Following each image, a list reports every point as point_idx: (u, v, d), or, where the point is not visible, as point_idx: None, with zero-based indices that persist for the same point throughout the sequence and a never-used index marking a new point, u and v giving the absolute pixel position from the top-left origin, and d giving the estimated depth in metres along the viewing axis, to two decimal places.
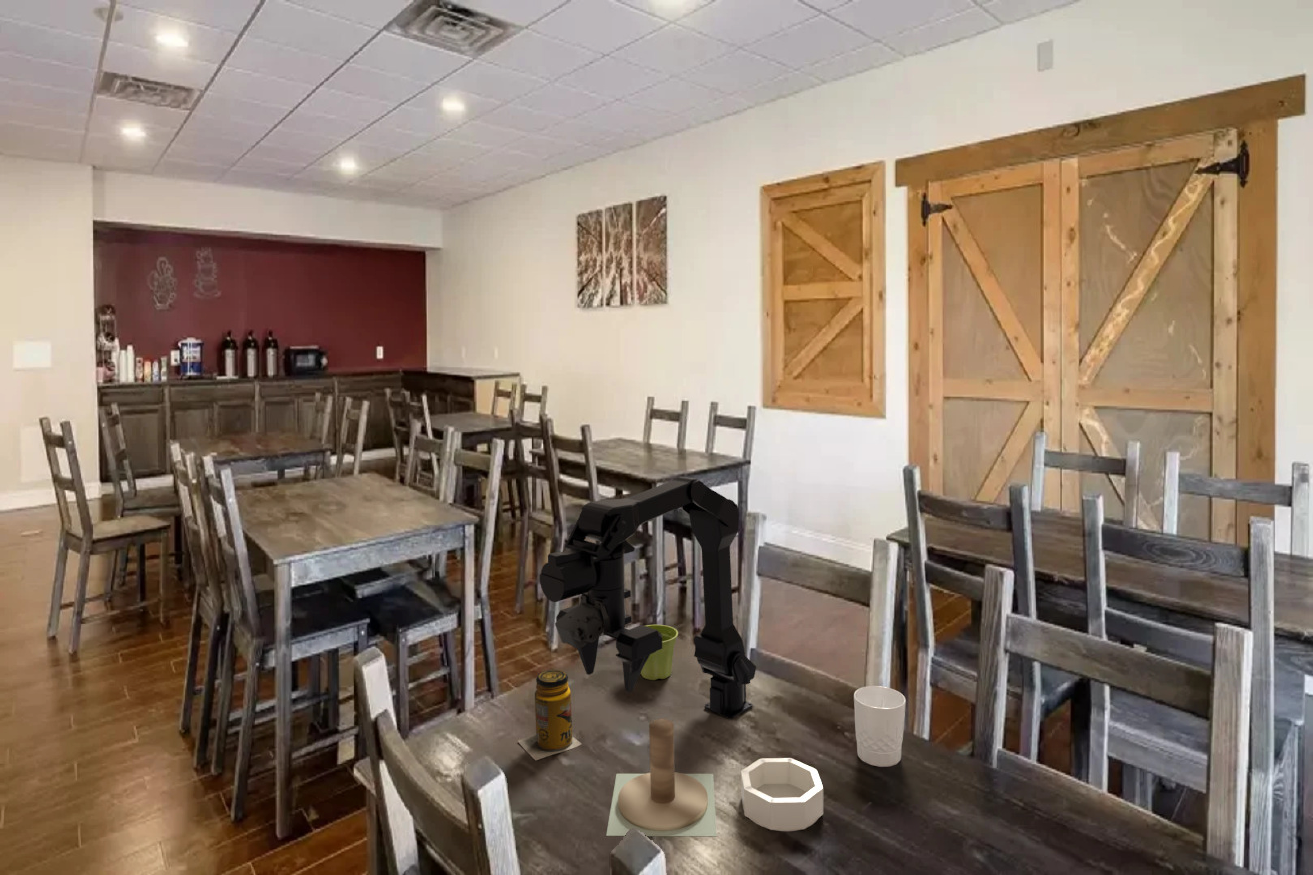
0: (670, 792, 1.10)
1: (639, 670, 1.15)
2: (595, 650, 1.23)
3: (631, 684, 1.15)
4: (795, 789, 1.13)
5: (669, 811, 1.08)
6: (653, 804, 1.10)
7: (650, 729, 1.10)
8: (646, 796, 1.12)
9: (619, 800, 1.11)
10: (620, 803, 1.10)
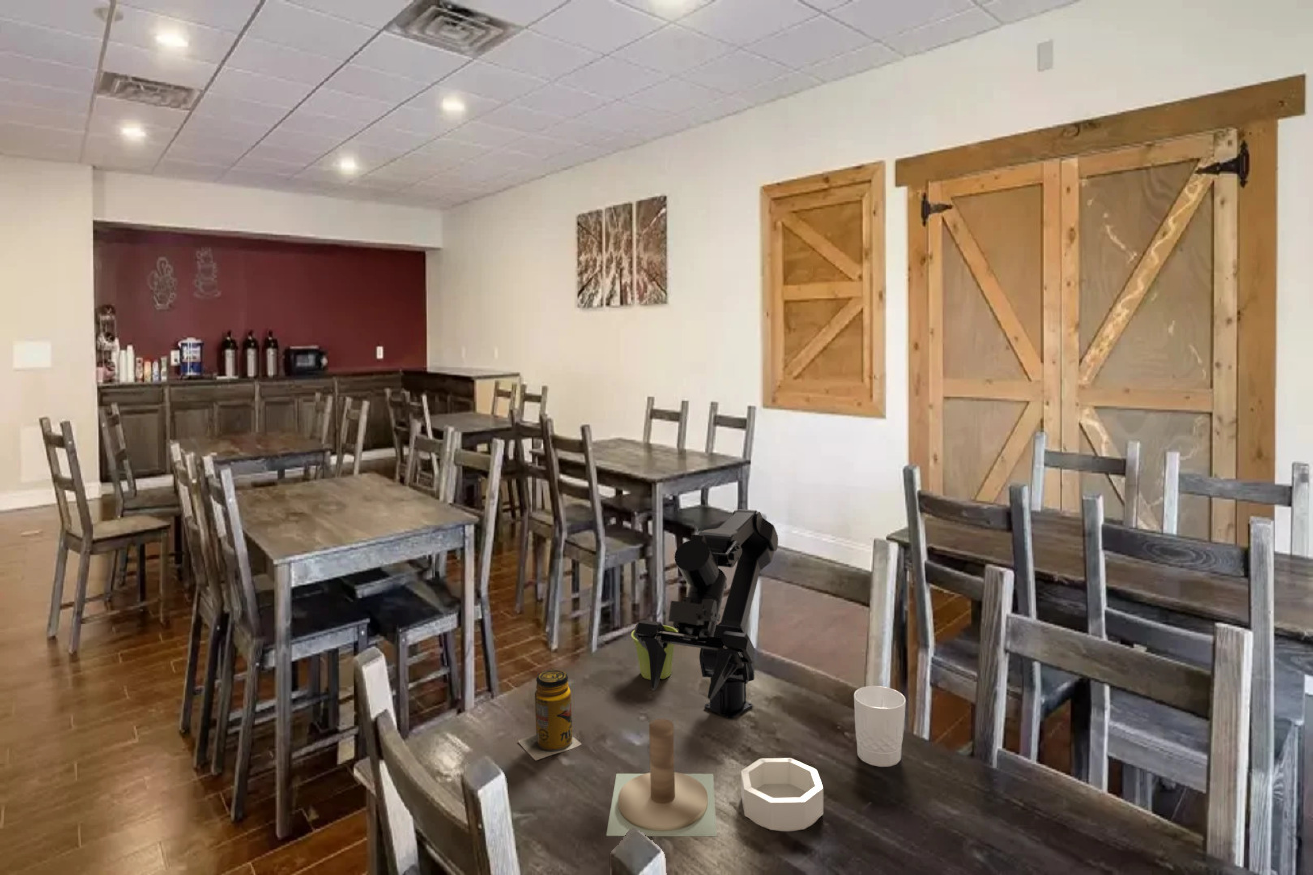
0: (670, 792, 1.10)
1: (723, 681, 1.18)
2: (661, 671, 1.22)
3: (715, 690, 1.16)
4: (795, 789, 1.13)
5: (669, 811, 1.08)
6: (653, 804, 1.10)
7: (650, 729, 1.10)
8: (646, 796, 1.12)
9: (619, 800, 1.11)
10: (620, 803, 1.10)
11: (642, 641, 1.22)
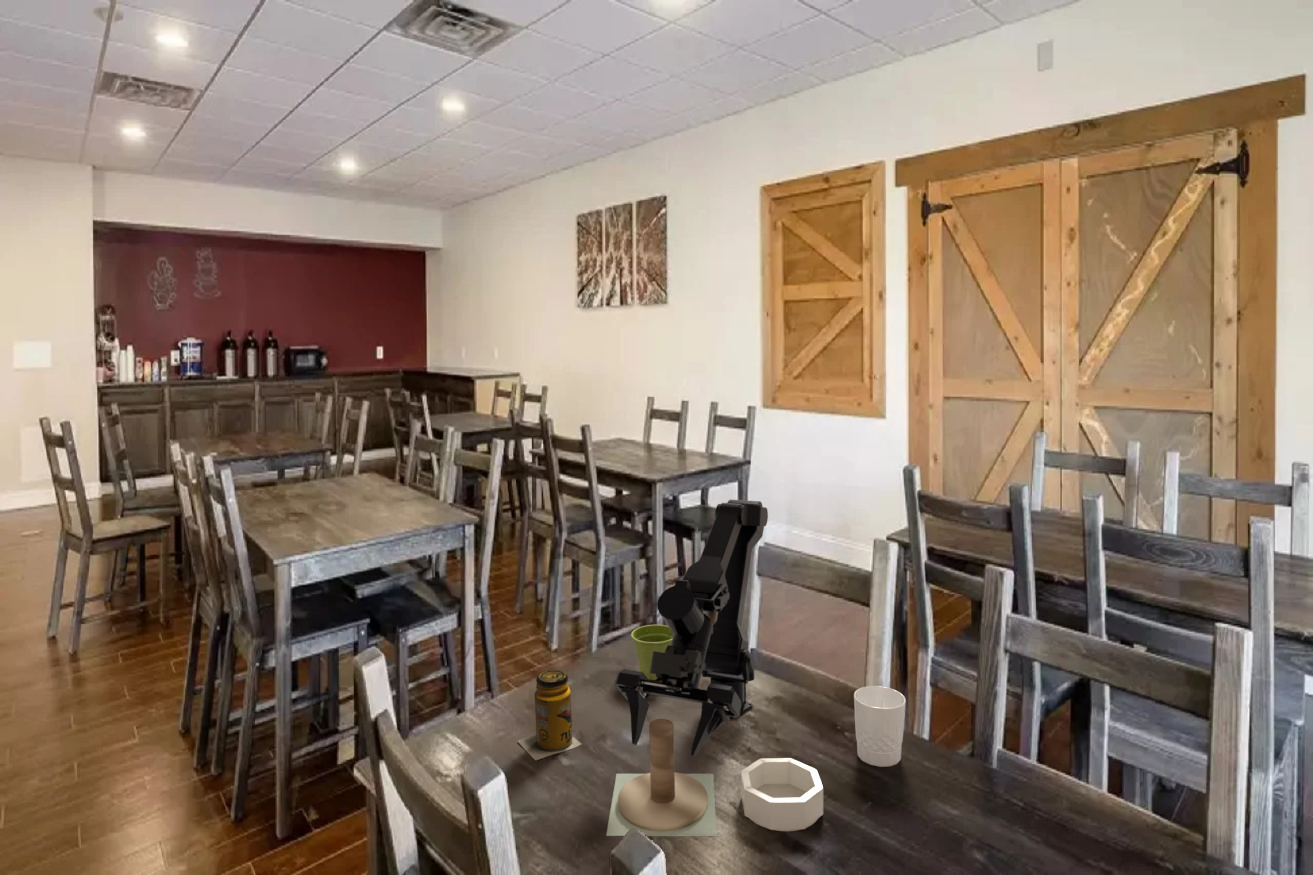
0: (670, 792, 1.10)
1: (707, 737, 1.12)
2: (642, 724, 1.16)
3: (698, 747, 1.10)
4: (795, 789, 1.13)
5: (669, 811, 1.08)
6: (653, 804, 1.10)
7: (650, 729, 1.10)
8: (646, 796, 1.12)
9: (619, 800, 1.11)
10: (620, 803, 1.10)
11: (623, 693, 1.16)
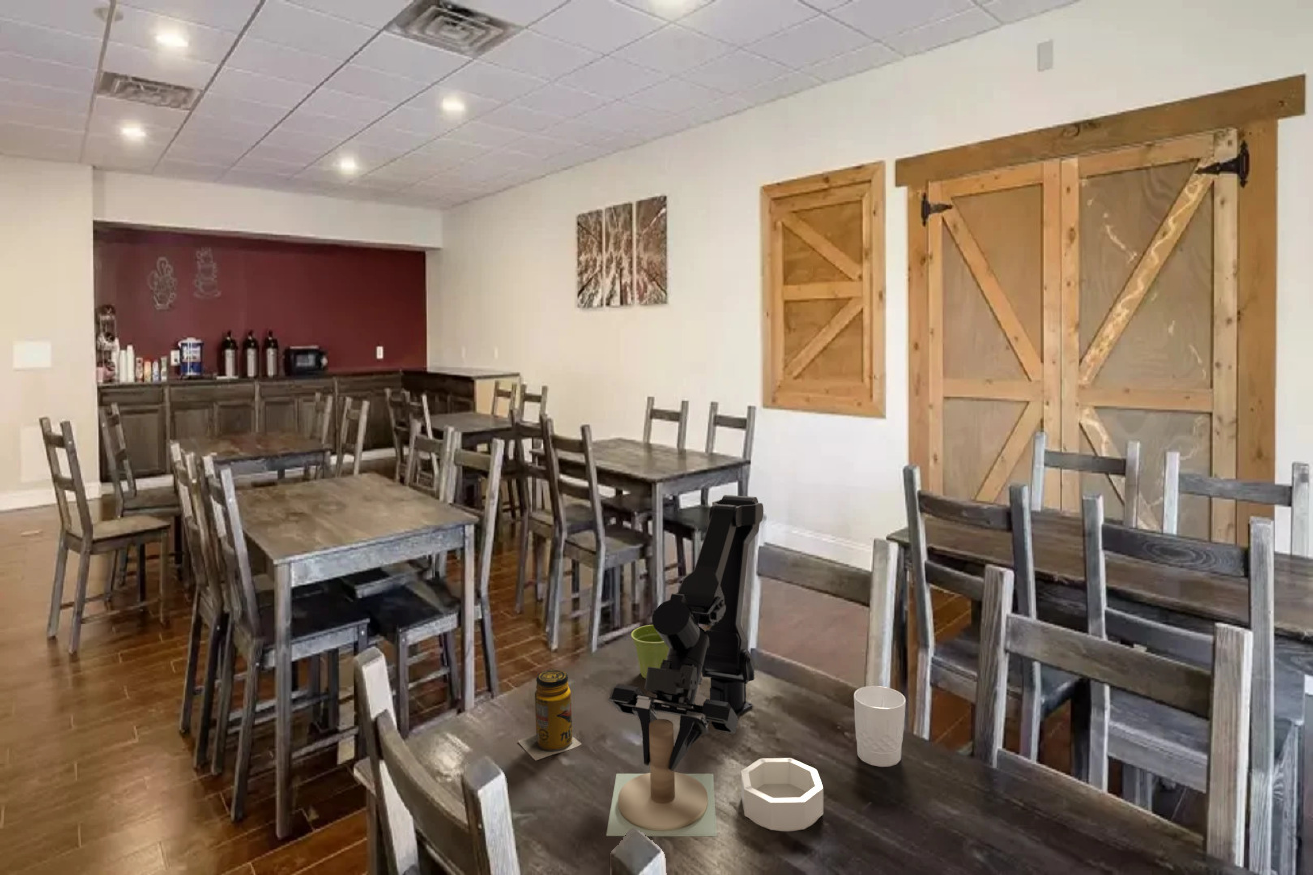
0: (670, 792, 1.10)
1: (686, 750, 1.11)
2: None
3: (676, 761, 1.10)
4: (795, 789, 1.13)
5: (669, 811, 1.08)
6: (653, 804, 1.10)
7: (650, 729, 1.10)
8: (646, 796, 1.12)
9: (619, 800, 1.11)
10: (620, 803, 1.10)
11: (634, 711, 1.14)
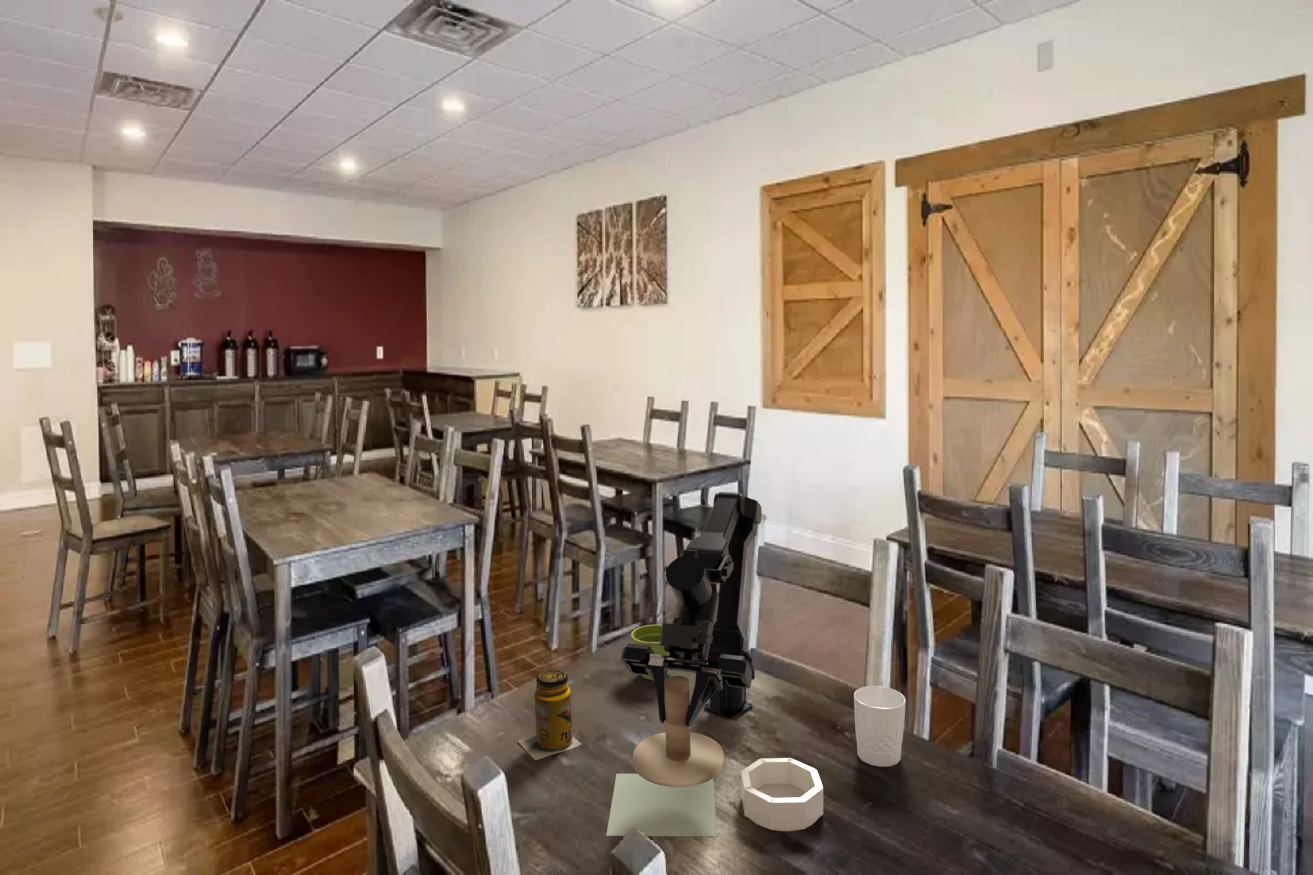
0: (686, 749, 1.09)
1: (701, 706, 1.10)
2: None
3: (693, 717, 1.08)
4: (795, 789, 1.13)
5: (687, 767, 1.07)
6: (670, 761, 1.08)
7: (666, 685, 1.08)
8: (661, 754, 1.10)
9: (634, 759, 1.09)
10: (636, 762, 1.08)
11: (647, 669, 1.12)
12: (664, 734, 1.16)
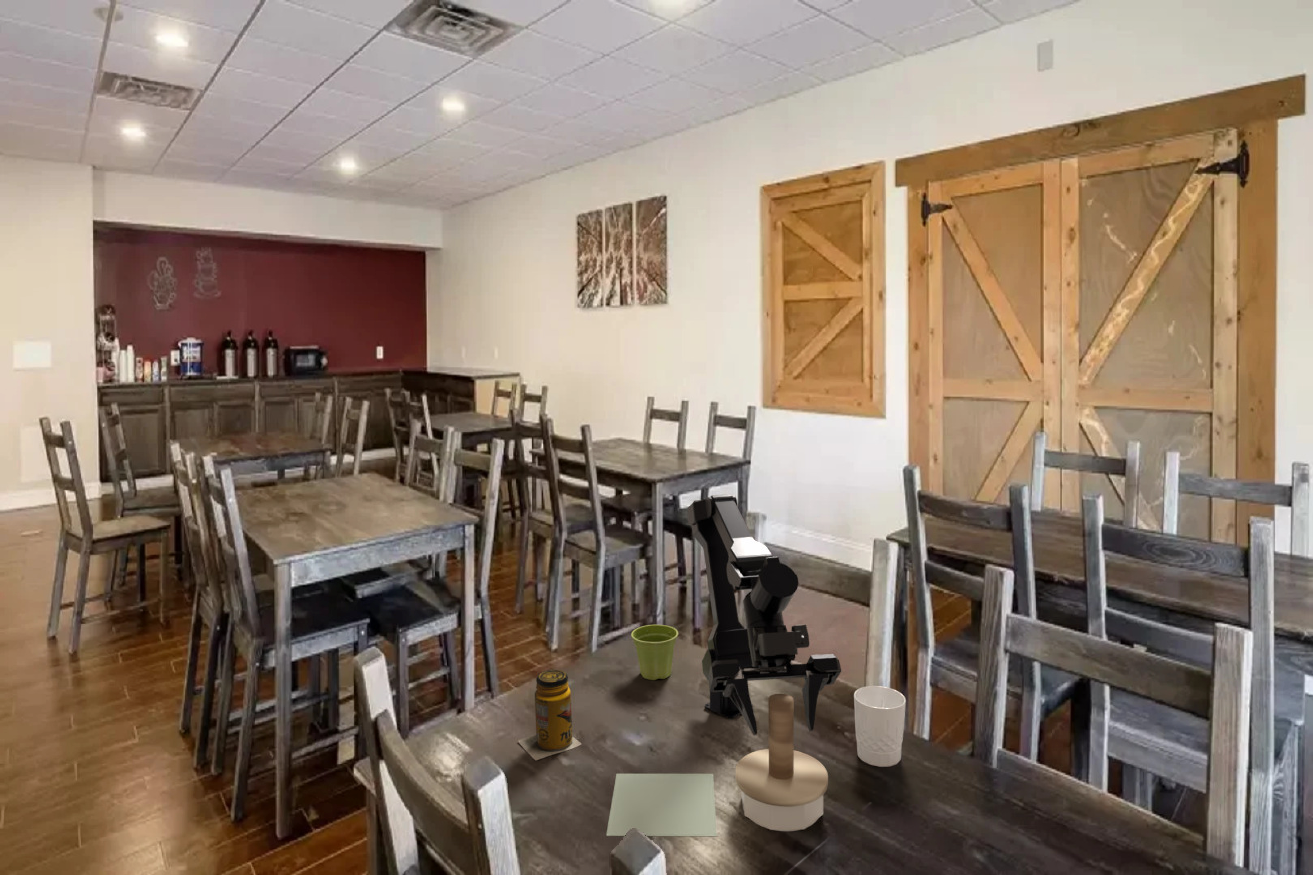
0: (793, 766, 1.09)
1: None
2: None
3: None
4: None
5: (802, 783, 1.07)
6: (781, 781, 1.07)
7: (775, 705, 1.07)
8: (767, 776, 1.09)
9: (747, 787, 1.06)
10: (751, 790, 1.06)
11: (729, 684, 1.09)
12: (749, 756, 1.14)
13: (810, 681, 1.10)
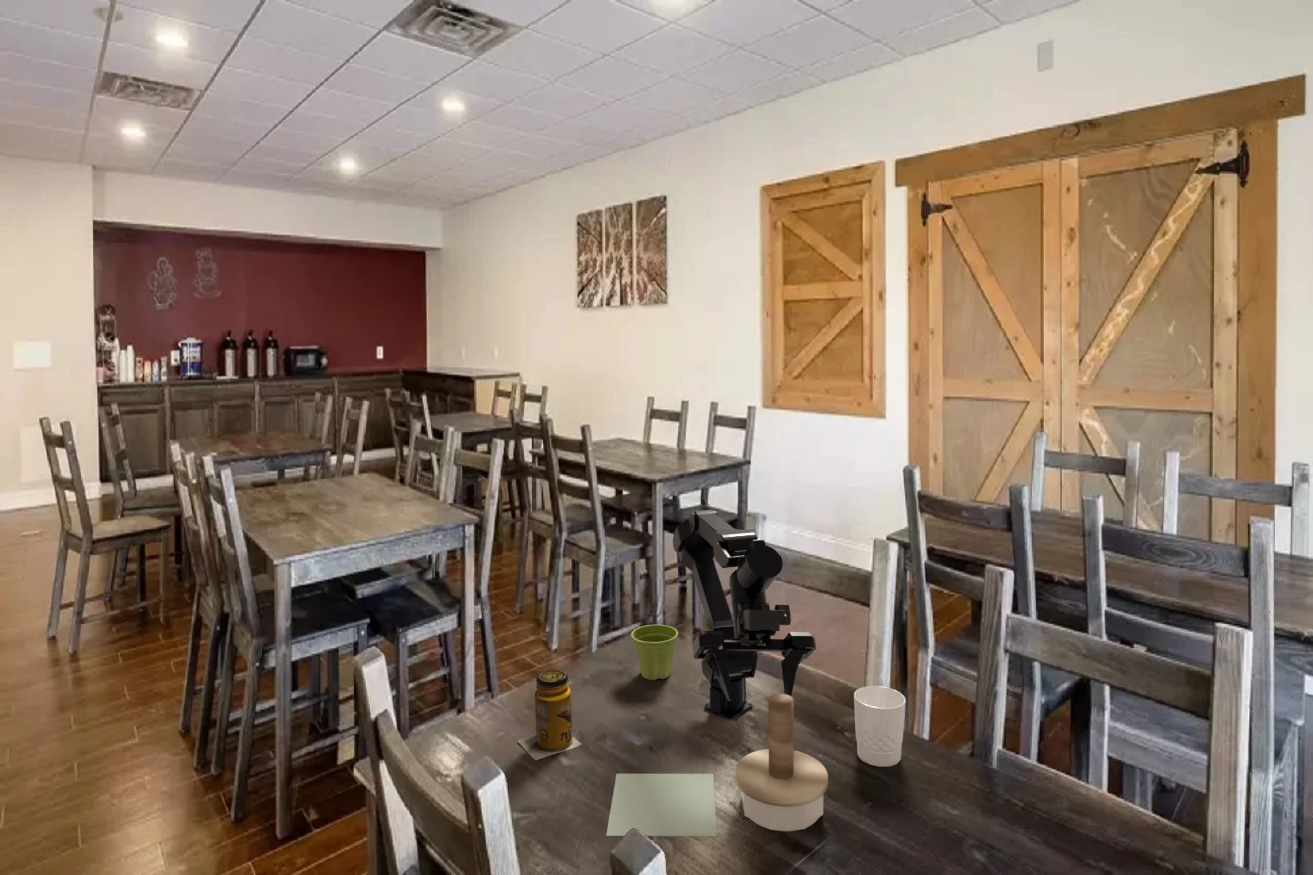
0: (793, 766, 1.09)
1: None
2: None
3: None
4: None
5: (802, 783, 1.07)
6: (781, 781, 1.07)
7: (775, 705, 1.07)
8: (767, 776, 1.09)
9: (747, 787, 1.06)
10: (751, 790, 1.06)
11: (710, 653, 1.18)
12: (749, 756, 1.14)
13: (791, 656, 1.20)
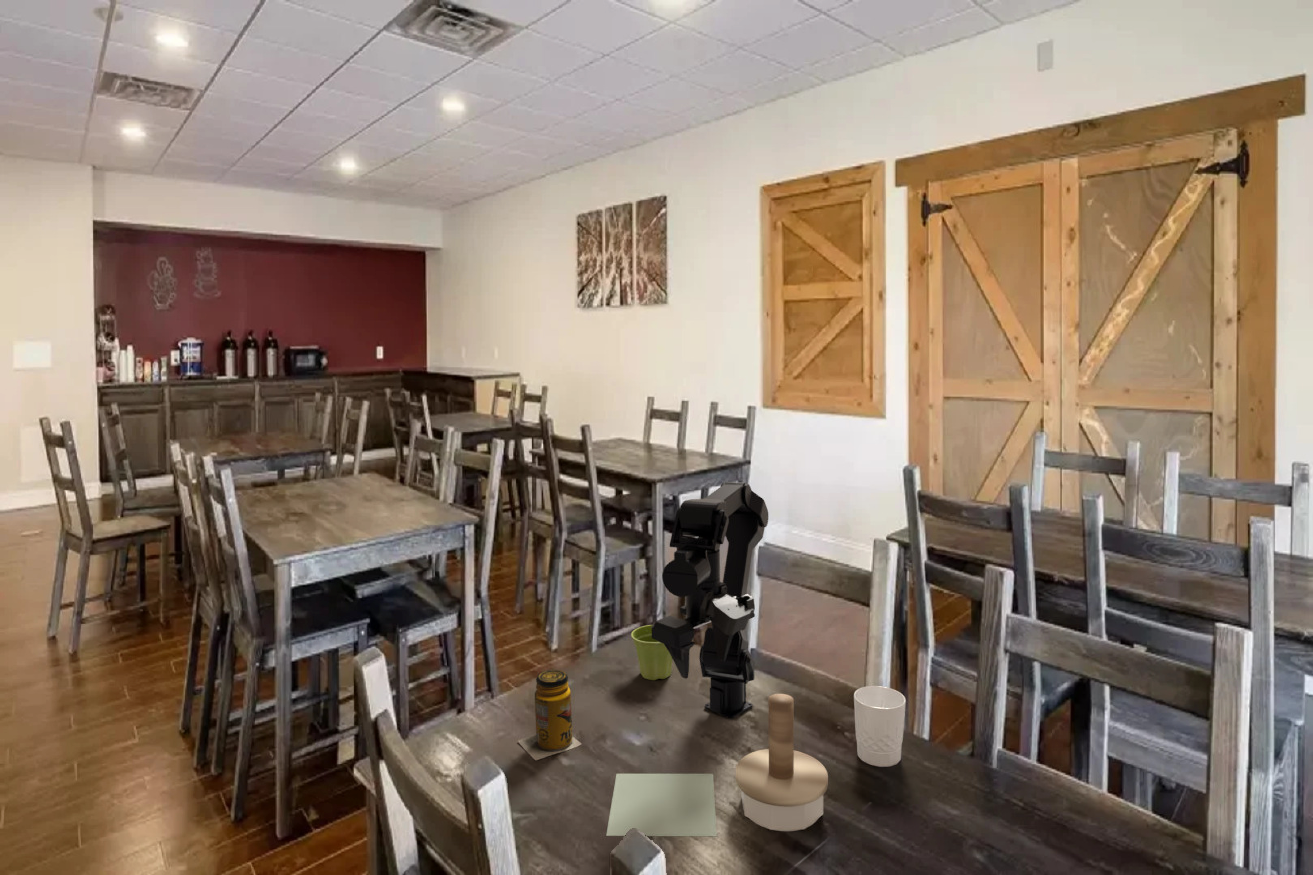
0: (793, 766, 1.09)
1: None
2: None
3: None
4: None
5: (802, 783, 1.07)
6: (781, 781, 1.07)
7: (775, 705, 1.07)
8: (767, 776, 1.09)
9: (747, 787, 1.06)
10: (751, 790, 1.06)
11: (680, 648, 1.19)
12: (749, 756, 1.14)
13: None
